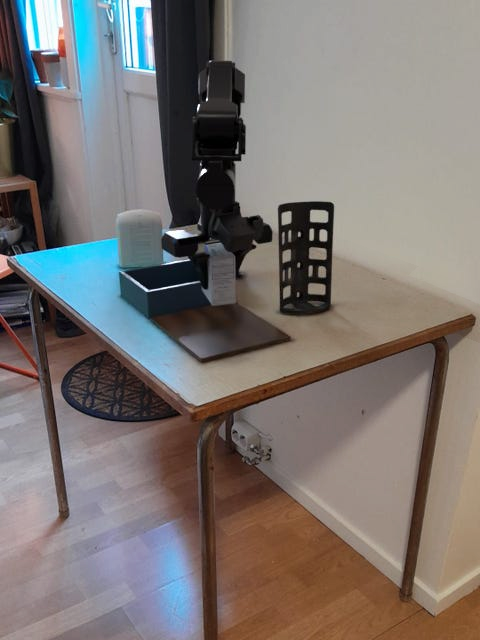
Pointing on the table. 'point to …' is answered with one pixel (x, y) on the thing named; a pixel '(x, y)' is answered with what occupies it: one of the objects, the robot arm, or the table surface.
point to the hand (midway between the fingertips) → (218, 286)
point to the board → (219, 331)
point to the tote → (162, 288)
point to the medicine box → (220, 275)
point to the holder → (304, 256)
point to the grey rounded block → (139, 238)
